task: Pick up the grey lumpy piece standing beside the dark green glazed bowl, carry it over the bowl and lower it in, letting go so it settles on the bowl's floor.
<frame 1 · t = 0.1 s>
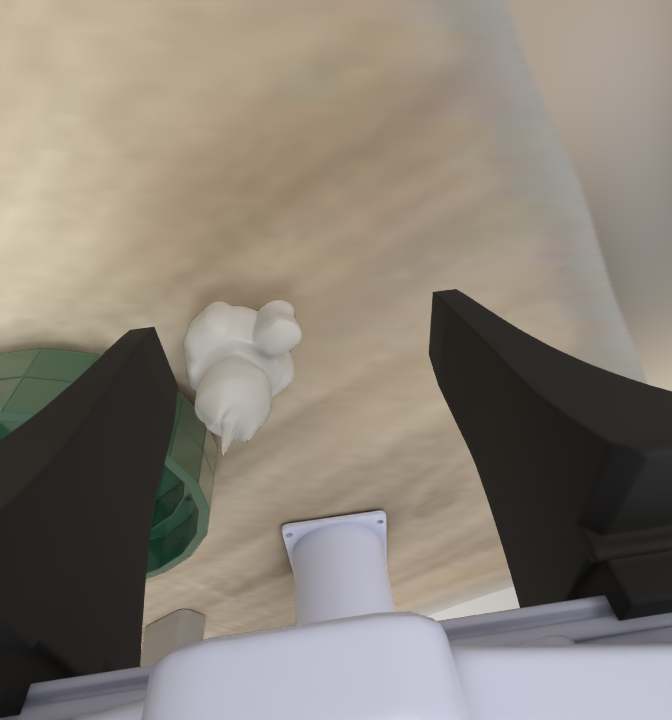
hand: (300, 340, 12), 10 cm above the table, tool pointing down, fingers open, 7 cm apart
grey lumpy piece: (247, 322, 24), on the table
power adapter: (176, 620, 43), on the table
bowl: (86, 444, 28), on the table
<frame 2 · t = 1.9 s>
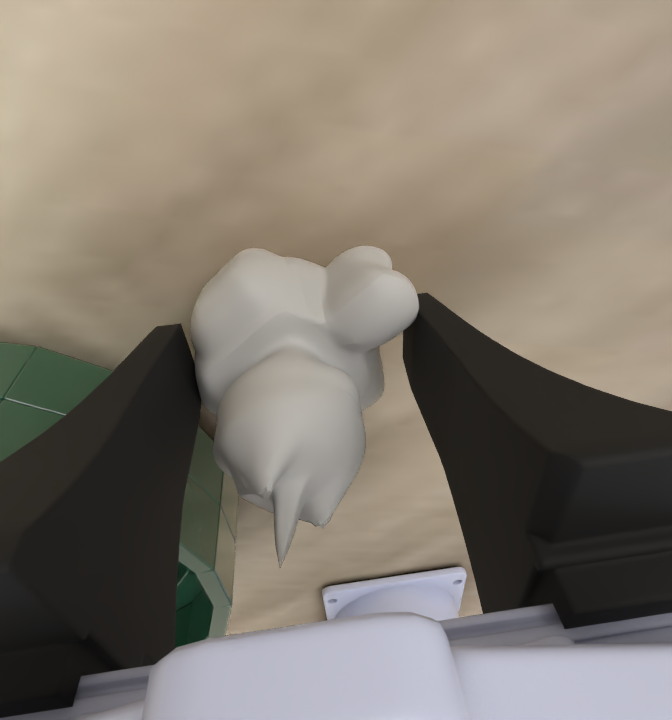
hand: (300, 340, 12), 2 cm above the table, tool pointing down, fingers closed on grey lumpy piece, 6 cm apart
grey lumpy piece: (296, 294, 14), on the table, touching gripper
bowl: (37, 488, 18), on the table
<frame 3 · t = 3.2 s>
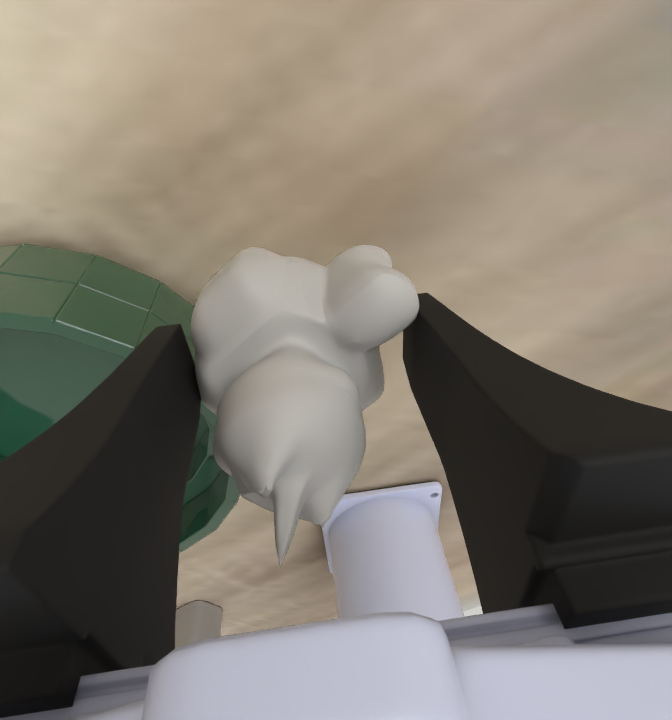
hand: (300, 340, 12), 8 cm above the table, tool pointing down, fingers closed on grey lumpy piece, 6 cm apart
grey lumpy piece: (296, 293, 14), point 5 cm above the table, touching gripper
power adapter: (188, 613, 38), on the table
bowl: (84, 389, 22), on the table
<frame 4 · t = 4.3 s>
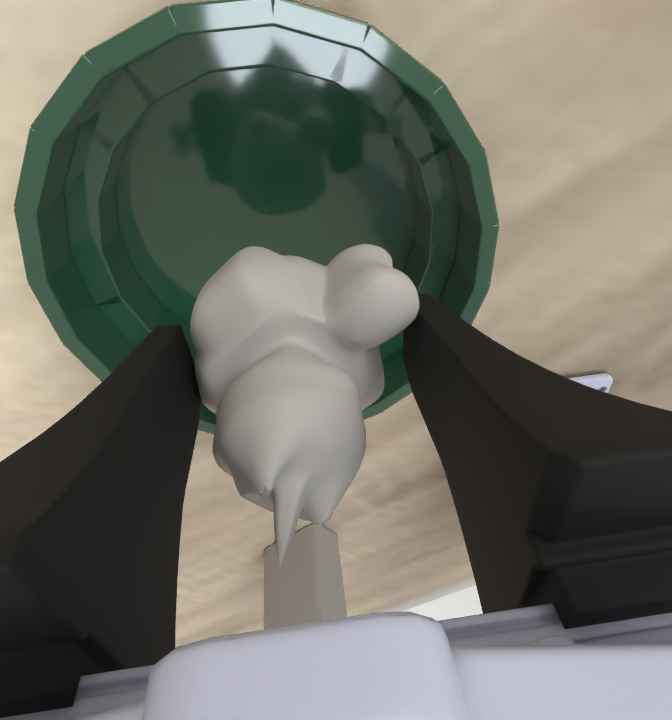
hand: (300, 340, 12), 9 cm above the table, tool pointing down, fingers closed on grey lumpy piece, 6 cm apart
grey lumpy piece: (296, 293, 14), point 7 cm above the table, touching gripper
power adapter: (300, 541, 35), on the table
bowl: (273, 227, 19), on the table
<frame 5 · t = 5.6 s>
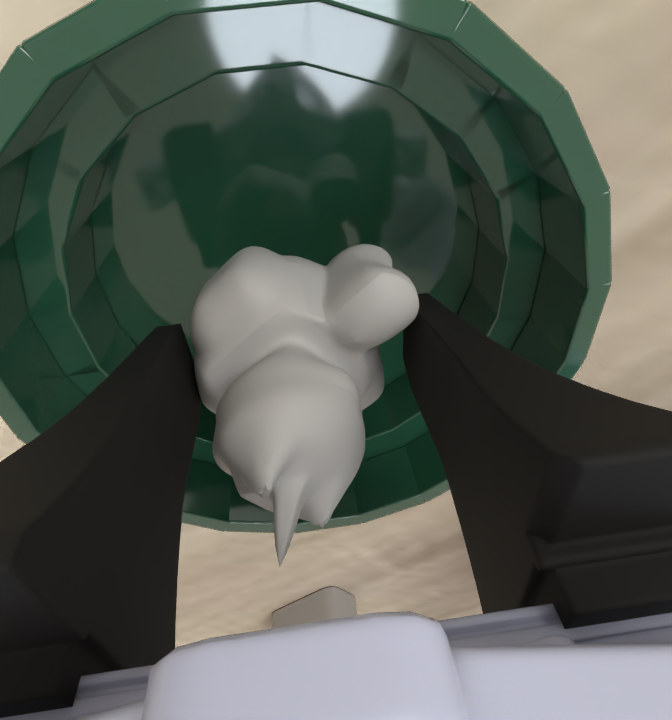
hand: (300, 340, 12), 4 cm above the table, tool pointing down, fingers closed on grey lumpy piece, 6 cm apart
grey lumpy piece: (296, 293, 14), point 2 cm above the table, touching gripper
power adapter: (313, 603, 31), on the table
bowl: (293, 269, 15), on the table
when the fingers open (3 cm above the table, at t = 6.6 s): grey lumpy piece stays where it is, resting on bowl.
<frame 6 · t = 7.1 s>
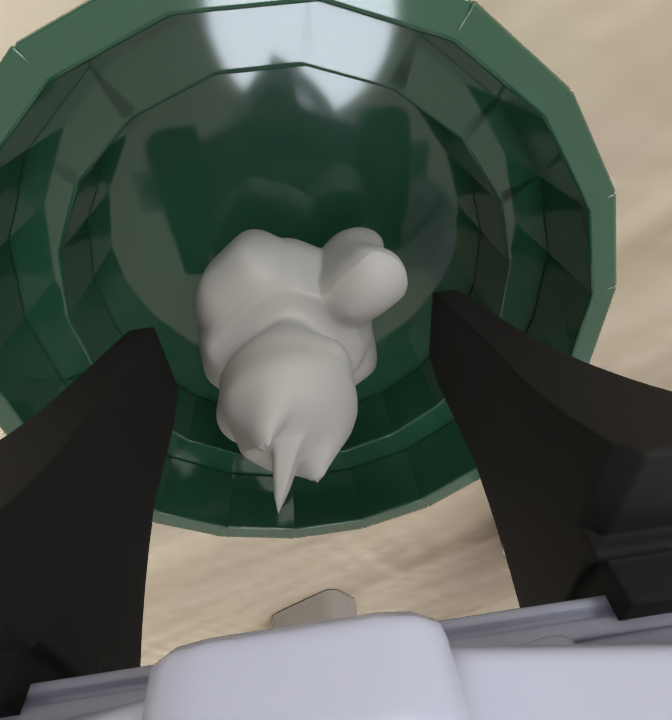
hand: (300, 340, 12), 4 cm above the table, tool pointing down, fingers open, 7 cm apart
grey lumpy piece: (294, 276, 15), resting on bowl
power adapter: (313, 606, 31), on the table
bowl: (293, 271, 15), on the table
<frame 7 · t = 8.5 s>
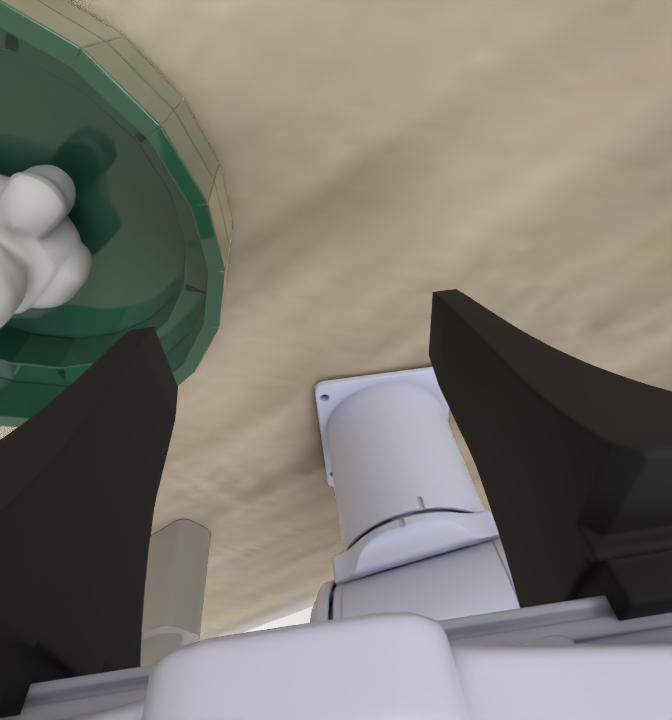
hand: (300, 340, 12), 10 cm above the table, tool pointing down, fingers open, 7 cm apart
grey lumpy piece: (37, 212, 18), resting on bowl
power adapter: (174, 537, 35), on the table
bowl: (41, 209, 19), on the table
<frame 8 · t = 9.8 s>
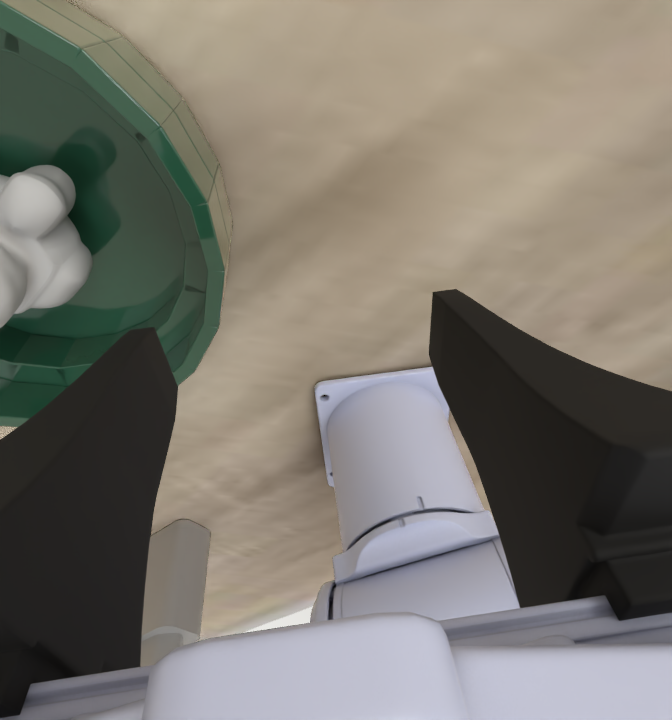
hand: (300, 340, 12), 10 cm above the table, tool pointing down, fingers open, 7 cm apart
grey lumpy piece: (37, 212, 18), resting on bowl
power adapter: (174, 537, 35), on the table
bowl: (41, 210, 19), on the table
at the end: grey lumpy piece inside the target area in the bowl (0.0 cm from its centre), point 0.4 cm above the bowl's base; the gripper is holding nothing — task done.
